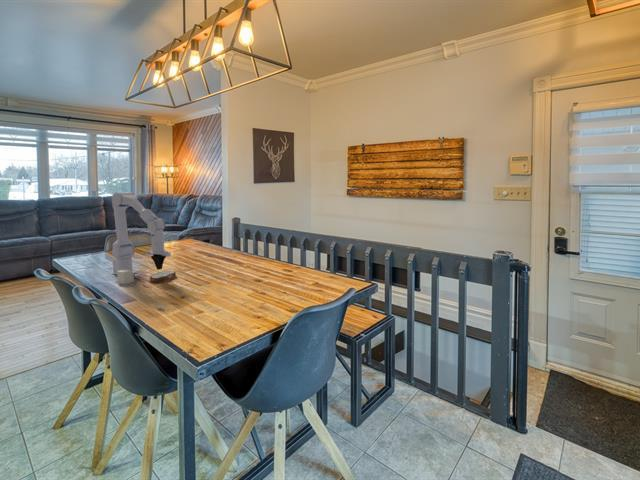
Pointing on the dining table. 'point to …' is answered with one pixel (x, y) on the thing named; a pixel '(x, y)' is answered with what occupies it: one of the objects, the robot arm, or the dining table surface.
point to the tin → (162, 276)
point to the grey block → (125, 276)
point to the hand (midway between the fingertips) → (159, 269)
